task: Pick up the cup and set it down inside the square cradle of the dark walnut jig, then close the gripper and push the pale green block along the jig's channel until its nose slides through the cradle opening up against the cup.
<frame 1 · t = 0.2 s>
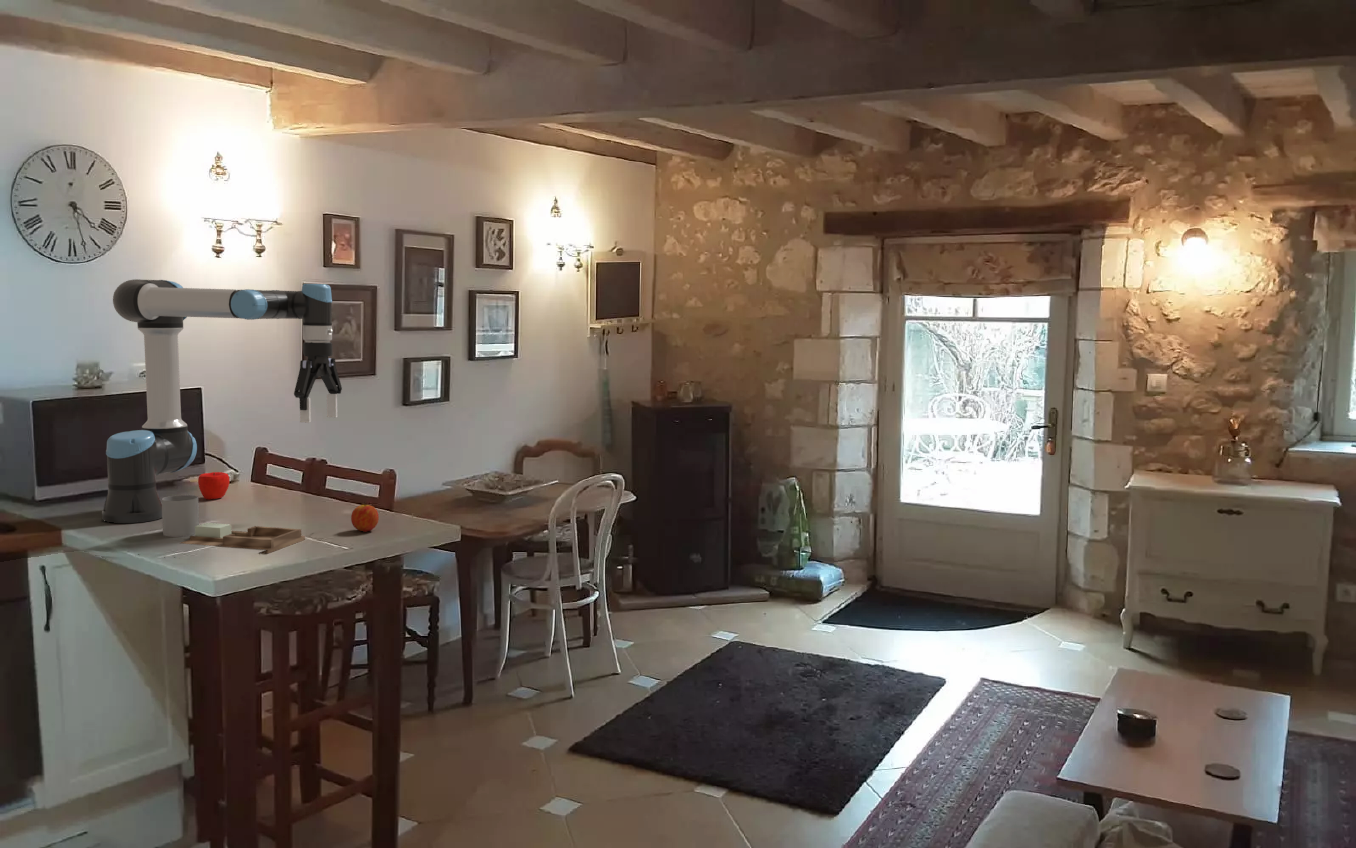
hand: (319, 419, 295), 28 cm above the counter, fingers open, 13 cm apart
apple: (214, 499, 327), on the counter
pale green block: (213, 537, 270), point 1 cm above the counter, touching jig
cup: (181, 537, 275), on the counter
fruit: (365, 531, 285), on the counter
jig: (243, 543, 269), on the counter
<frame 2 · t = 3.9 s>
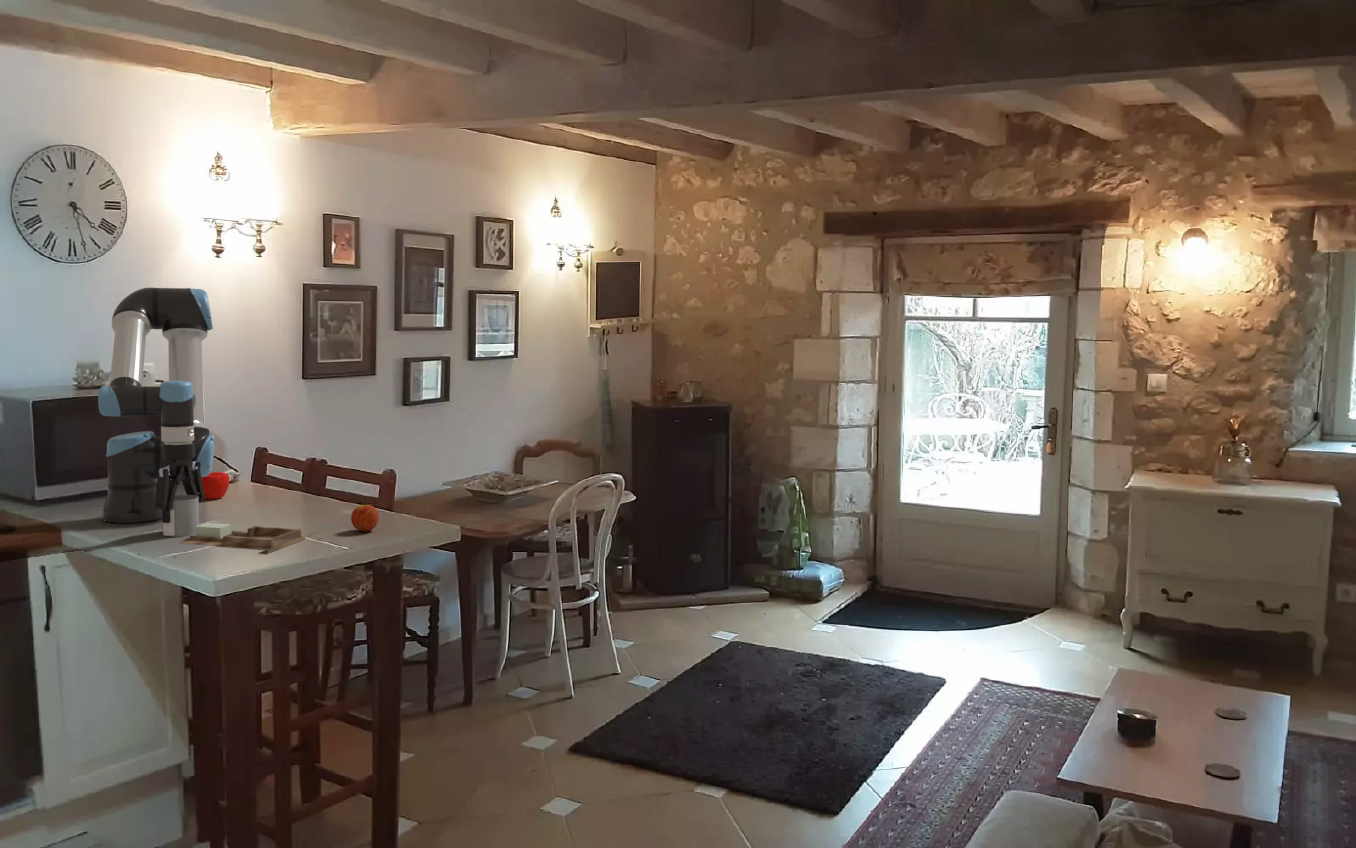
hand: (181, 531, 274), 1 cm above the counter, fingers closed on cup, 8 cm apart
cup: (181, 537, 275), on the counter, touching gripper
everything else where it was.
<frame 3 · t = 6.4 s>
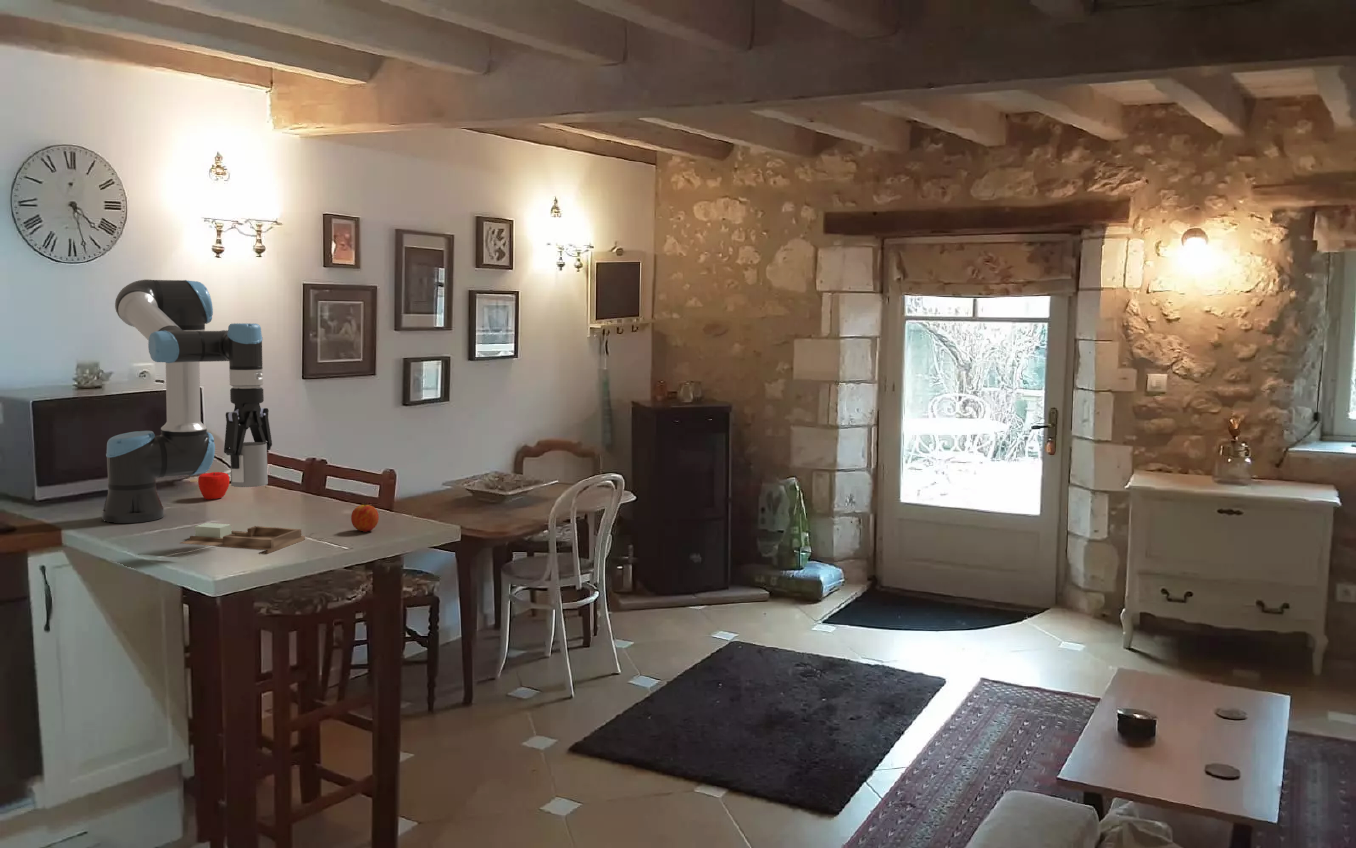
hand: (249, 479, 266), 16 cm above the counter, fingers closed on cup, 8 cm apart
cup: (249, 485, 266), point 15 cm above the counter, touching gripper
everything else where it was.
when the fingers open (4 cm above the counter, at t = 8.9 s): cup drops 2 cm, resting on jig.
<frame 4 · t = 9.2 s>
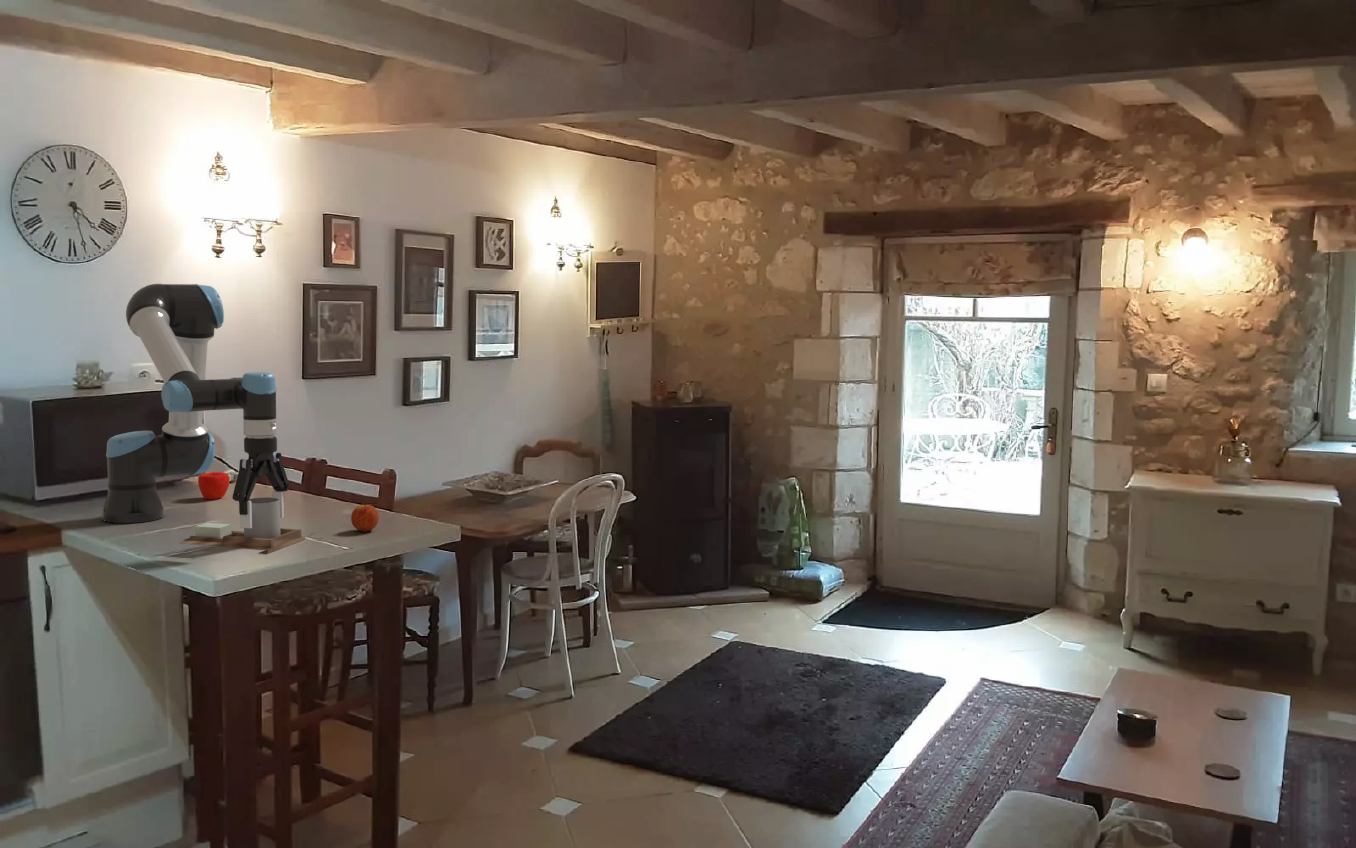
hand: (262, 522, 267), 6 cm above the counter, fingers open, 13 cm apart
cup: (262, 541, 268), point 1 cm above the counter, touching jig
everything else where it was.
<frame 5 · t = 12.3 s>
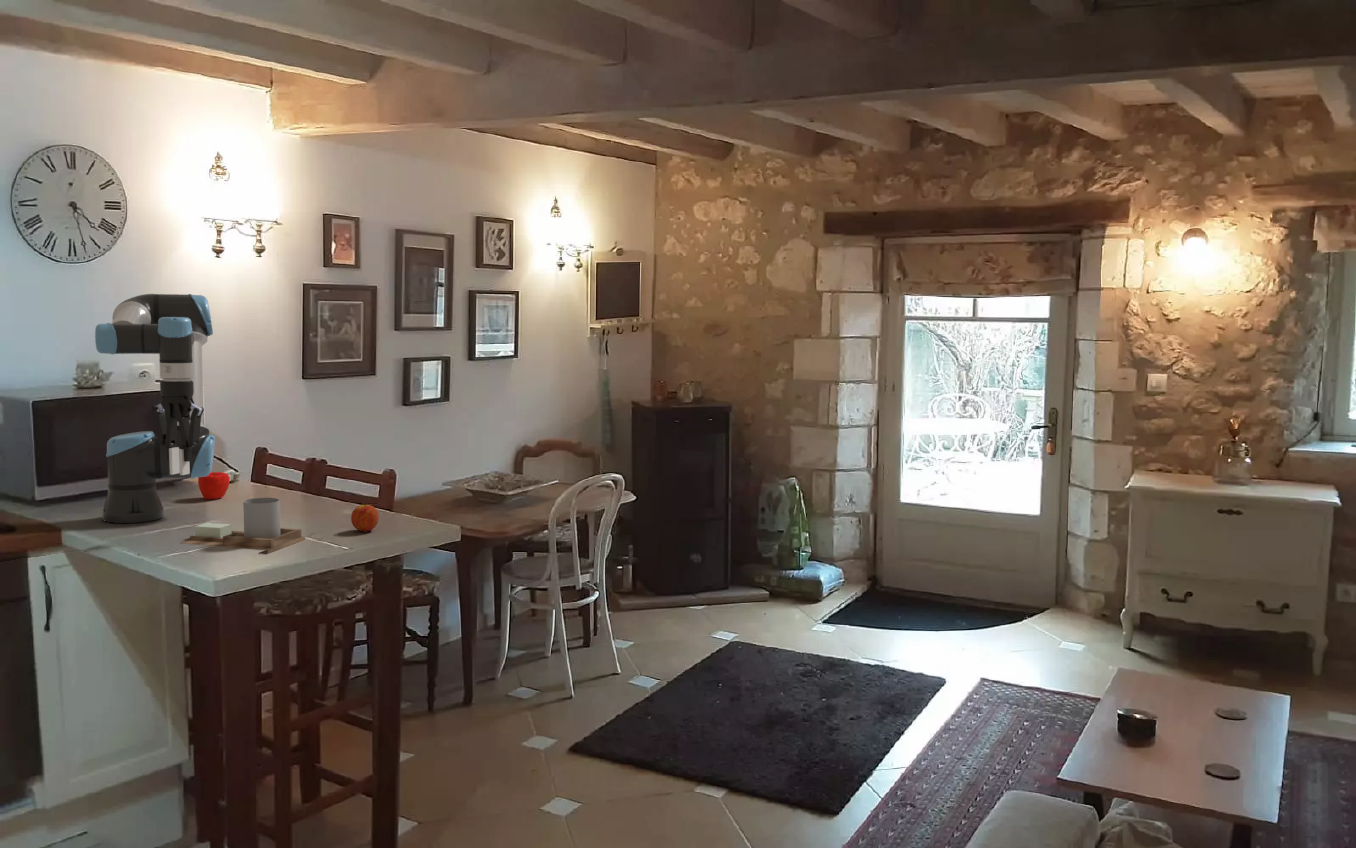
hand: (179, 473, 270), 16 cm above the counter, fingers open, 2 cm apart
nothing on the counter moved.
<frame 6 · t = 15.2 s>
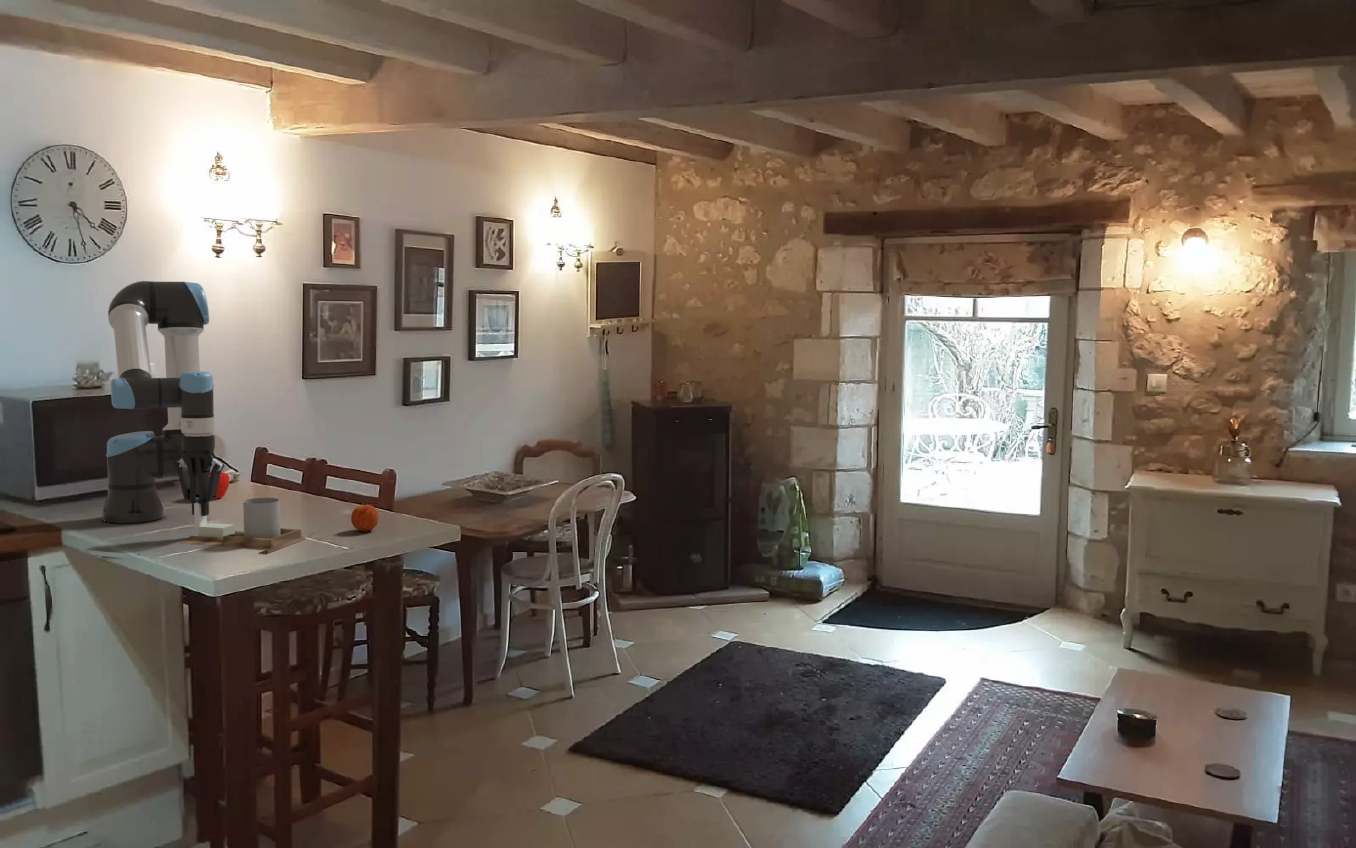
hand: (200, 528, 270), 3 cm above the counter, fingers closed
pale green block: (216, 537, 270), point 1 cm above the counter
everything else where it was.
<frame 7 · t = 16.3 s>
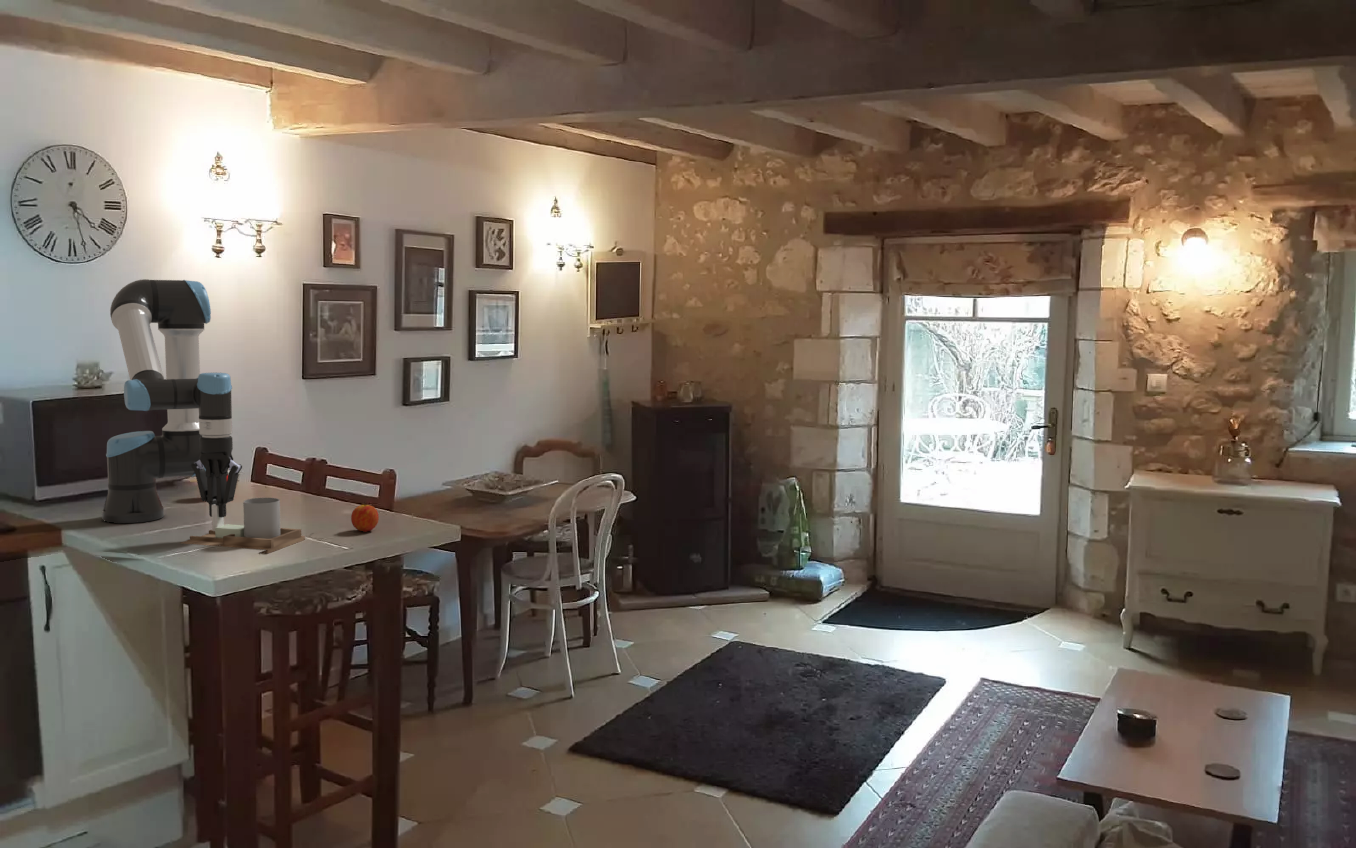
hand: (218, 529, 270), 3 cm above the counter, fingers closed
pale green block: (233, 538, 269), point 1 cm above the counter, touching gripper, jig
everything else where it was.
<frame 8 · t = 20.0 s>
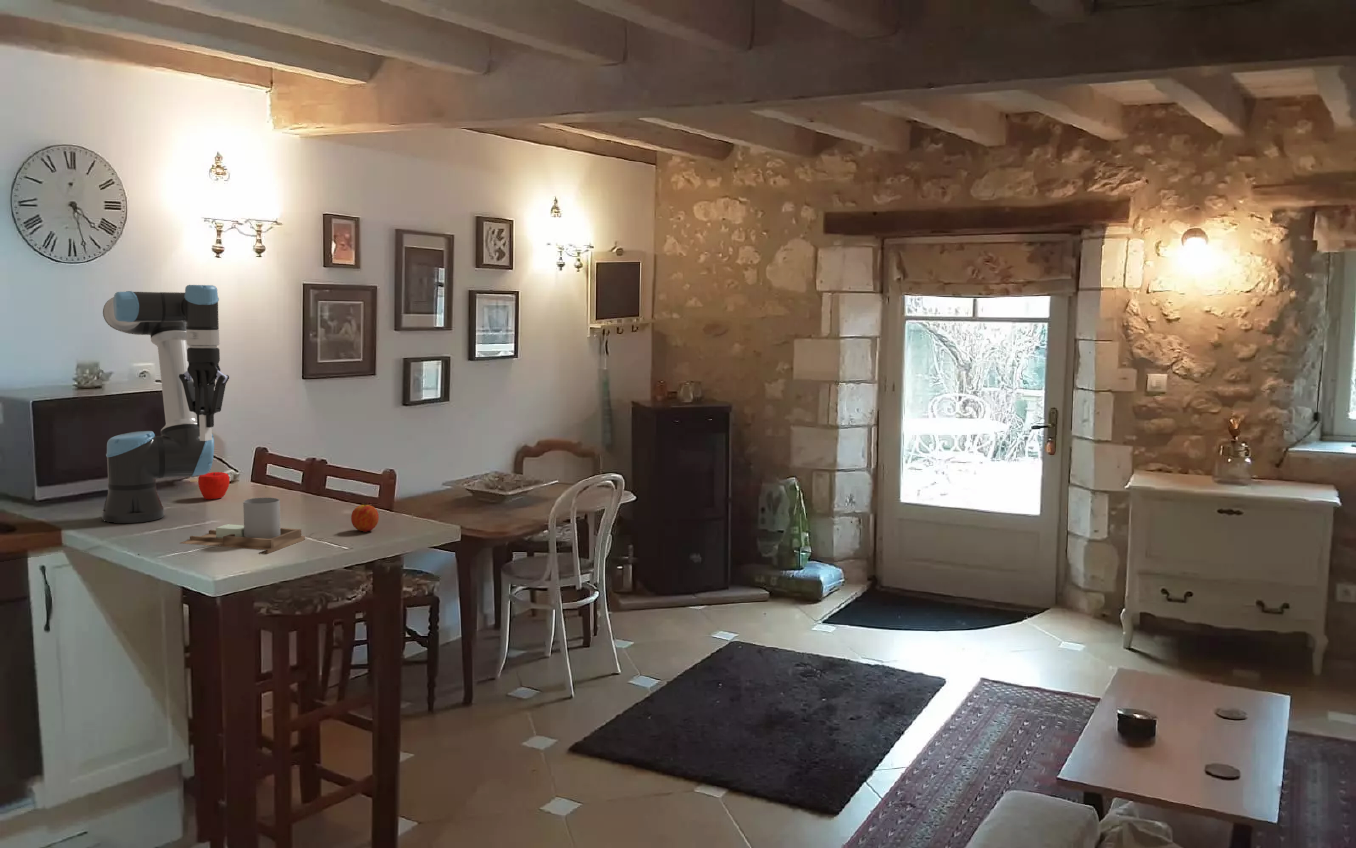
hand: (206, 440, 275), 24 cm above the counter, fingers closed
pale green block: (234, 538, 269), point 1 cm above the counter, touching jig
everything else where it was.
at the end: cup inside the target area on the jig (0.3 cm from its centre), point 0.8 cm above the jig's base; cup tilted 0°; pale green block 0.4 cm from the target spot on the jig, point 1.0 cm above the jig's base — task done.
